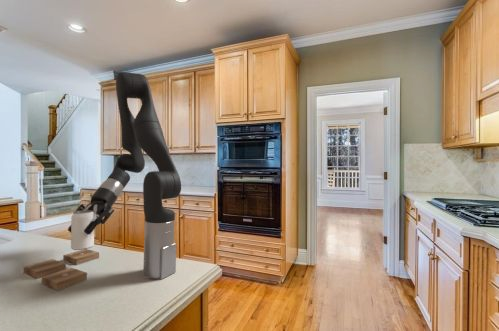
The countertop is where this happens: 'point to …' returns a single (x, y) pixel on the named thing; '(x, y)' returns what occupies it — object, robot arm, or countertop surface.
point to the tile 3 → (81, 256)
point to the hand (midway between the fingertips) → (78, 232)
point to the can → (81, 230)
